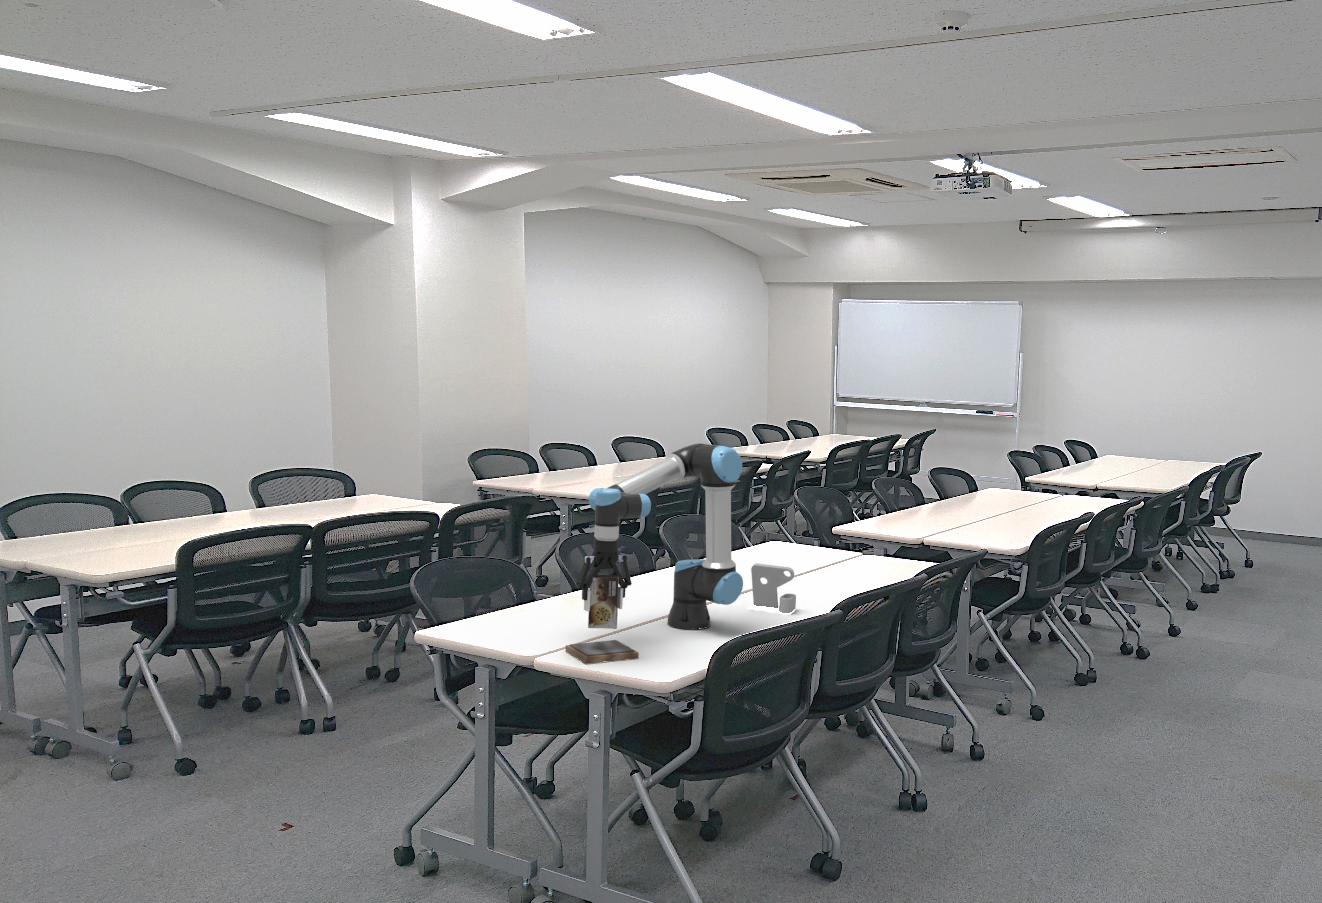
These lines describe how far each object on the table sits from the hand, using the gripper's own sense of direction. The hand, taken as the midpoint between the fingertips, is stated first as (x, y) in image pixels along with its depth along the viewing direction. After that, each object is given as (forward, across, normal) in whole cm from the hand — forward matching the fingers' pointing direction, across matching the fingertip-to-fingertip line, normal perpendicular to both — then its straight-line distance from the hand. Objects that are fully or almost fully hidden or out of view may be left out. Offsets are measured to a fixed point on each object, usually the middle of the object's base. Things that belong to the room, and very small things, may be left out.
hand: (603, 609), depth 336 cm
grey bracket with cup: (+14, -88, -34) cm, 95 cm away
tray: (+15, 0, 0) cm, 15 cm away
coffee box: (+6, 0, 0) cm, 6 cm away
